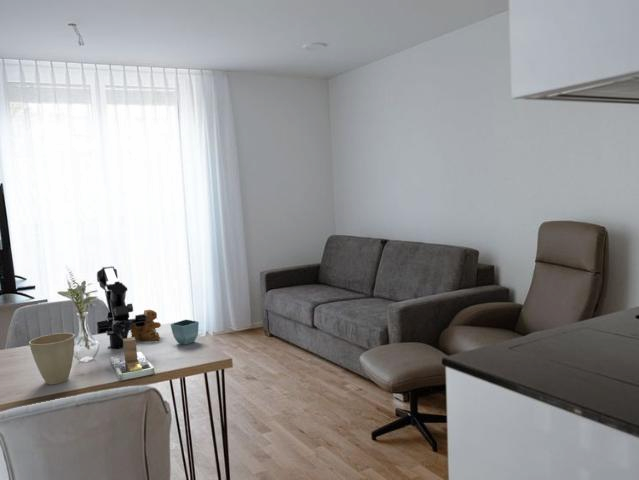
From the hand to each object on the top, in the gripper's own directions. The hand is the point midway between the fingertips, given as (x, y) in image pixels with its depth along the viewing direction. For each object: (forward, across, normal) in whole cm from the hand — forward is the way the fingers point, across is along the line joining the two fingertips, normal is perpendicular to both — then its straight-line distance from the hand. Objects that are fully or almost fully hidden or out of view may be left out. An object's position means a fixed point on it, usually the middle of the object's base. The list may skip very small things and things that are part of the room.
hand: (125, 341), depth 219 cm
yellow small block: (+19, 0, -9) cm, 21 cm away
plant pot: (+10, -26, +1) cm, 28 cm away
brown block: (+14, 0, -4) cm, 15 cm away
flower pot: (-2, +26, +14) cm, 30 cm away
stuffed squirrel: (-15, +12, +28) cm, 34 cm away
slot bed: (+10, 0, +2) cm, 10 cm away
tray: (+19, 0, -8) cm, 21 cm away
